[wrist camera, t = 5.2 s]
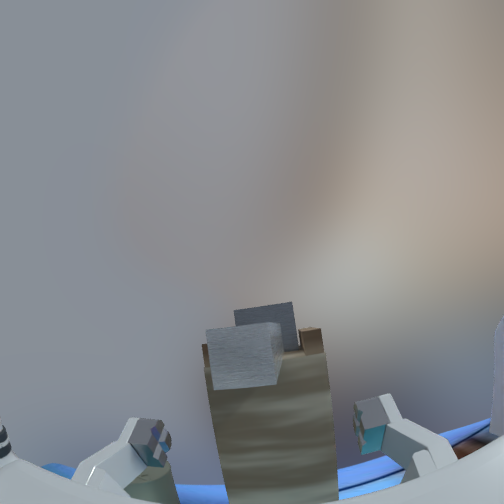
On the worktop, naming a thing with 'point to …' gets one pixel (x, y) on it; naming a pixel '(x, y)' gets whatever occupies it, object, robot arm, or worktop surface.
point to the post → (279, 431)
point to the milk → (498, 382)
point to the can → (154, 486)
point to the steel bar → (252, 347)
